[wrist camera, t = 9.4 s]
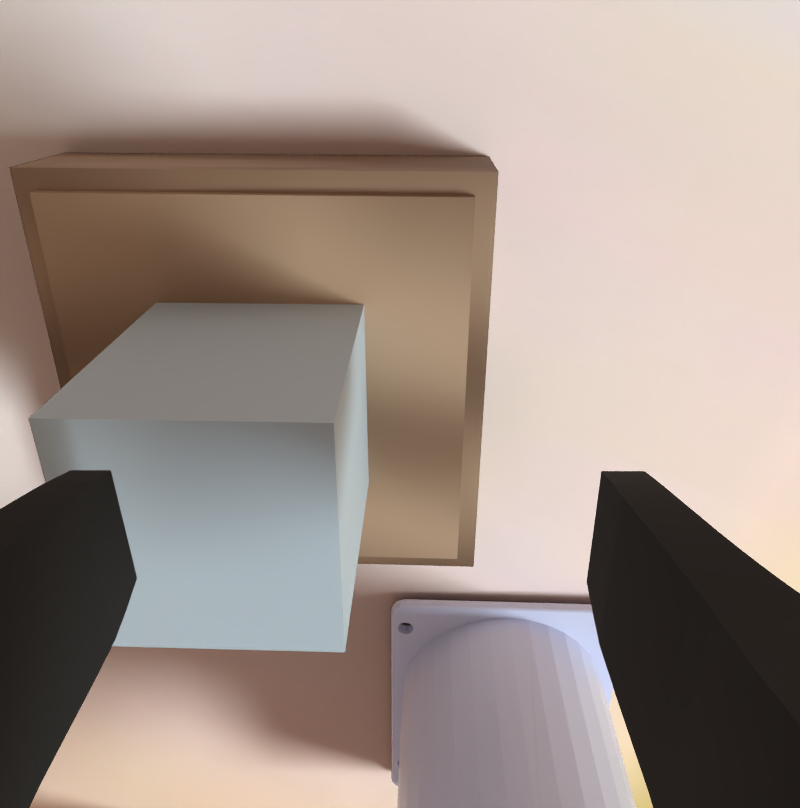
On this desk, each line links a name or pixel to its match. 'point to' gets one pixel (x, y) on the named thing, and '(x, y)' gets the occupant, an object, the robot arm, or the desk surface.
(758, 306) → the desk surface
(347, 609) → the slate block
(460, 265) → the walnut base
